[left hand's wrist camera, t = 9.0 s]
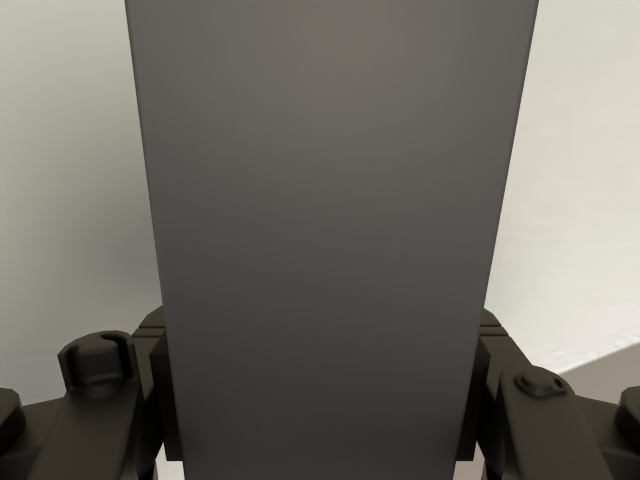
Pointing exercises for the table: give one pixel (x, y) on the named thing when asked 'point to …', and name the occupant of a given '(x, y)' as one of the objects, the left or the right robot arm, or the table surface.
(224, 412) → the post
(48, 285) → the table surface
